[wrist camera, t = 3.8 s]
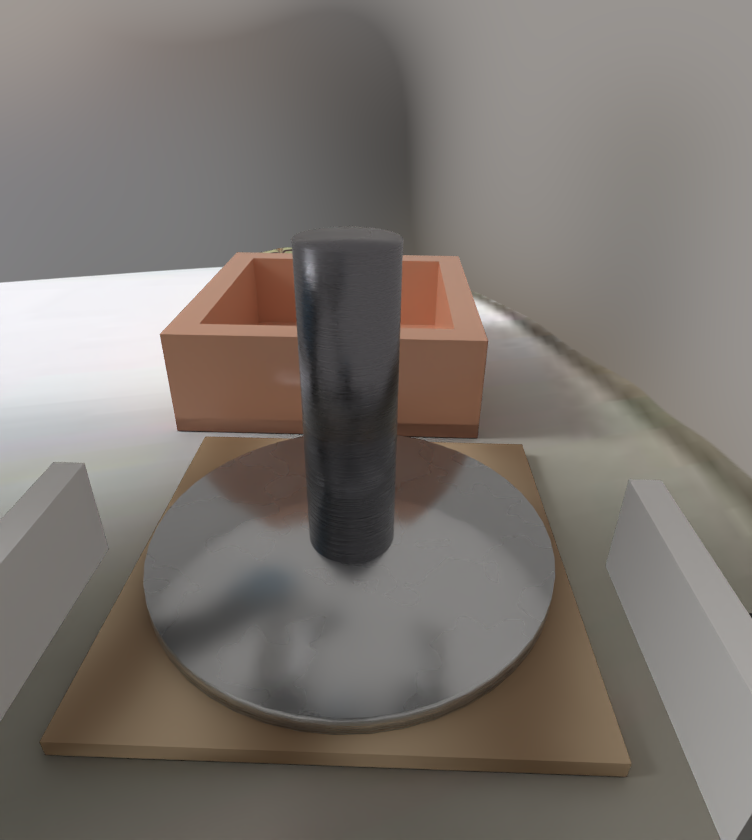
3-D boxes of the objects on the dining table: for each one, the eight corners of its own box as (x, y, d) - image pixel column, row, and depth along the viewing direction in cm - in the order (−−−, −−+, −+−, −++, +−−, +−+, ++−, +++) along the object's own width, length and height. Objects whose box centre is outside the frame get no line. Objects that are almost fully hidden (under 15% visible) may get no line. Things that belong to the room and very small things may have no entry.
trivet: (45, 754, 16) (39, 742, 16) (206, 446, 30) (205, 436, 30) (626, 776, 16) (631, 763, 16) (520, 454, 30) (521, 444, 30)
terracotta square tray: (177, 430, 32) (160, 334, 29) (244, 324, 46) (237, 252, 43) (477, 437, 31) (488, 340, 29) (452, 328, 45) (458, 256, 42)
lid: (66, 725, 17) (-98, 327, 11) (212, 441, 30) (174, 192, 24) (606, 745, 16) (743, 344, 10) (513, 449, 29) (551, 197, 23)
